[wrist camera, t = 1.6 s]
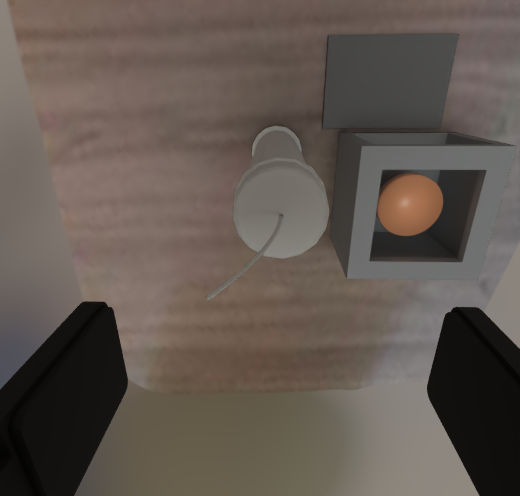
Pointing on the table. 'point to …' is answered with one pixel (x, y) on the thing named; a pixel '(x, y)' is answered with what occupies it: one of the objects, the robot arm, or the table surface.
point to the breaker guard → (452, 214)
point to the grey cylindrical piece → (278, 200)
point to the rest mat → (387, 80)
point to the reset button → (409, 204)
